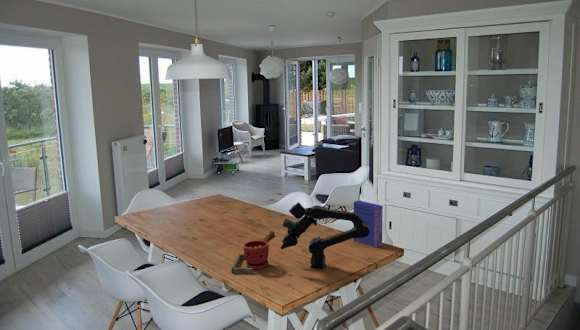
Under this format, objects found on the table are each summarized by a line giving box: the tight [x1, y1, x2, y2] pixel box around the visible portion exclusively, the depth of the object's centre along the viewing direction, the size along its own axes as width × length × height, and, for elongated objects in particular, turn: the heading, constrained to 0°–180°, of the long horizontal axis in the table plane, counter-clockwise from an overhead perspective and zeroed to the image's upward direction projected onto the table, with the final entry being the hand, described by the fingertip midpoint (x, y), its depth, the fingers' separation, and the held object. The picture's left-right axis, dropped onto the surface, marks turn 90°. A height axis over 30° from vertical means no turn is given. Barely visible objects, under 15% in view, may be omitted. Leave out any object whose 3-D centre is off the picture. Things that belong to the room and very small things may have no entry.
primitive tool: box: [260, 230, 275, 243], centre depth 282 cm, size 19×6×4 cm, turn 162°
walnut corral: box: [231, 253, 254, 275], centre depth 243 cm, size 11×20×2 cm, turn 176°
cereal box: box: [353, 200, 384, 249], centre depth 271 cm, size 17×5×24 cm, turn 41°
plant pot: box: [242, 240, 270, 270], centre depth 242 cm, size 13×13×12 cm
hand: (281, 245), depth 240 cm, fingers open, 9 cm apart
